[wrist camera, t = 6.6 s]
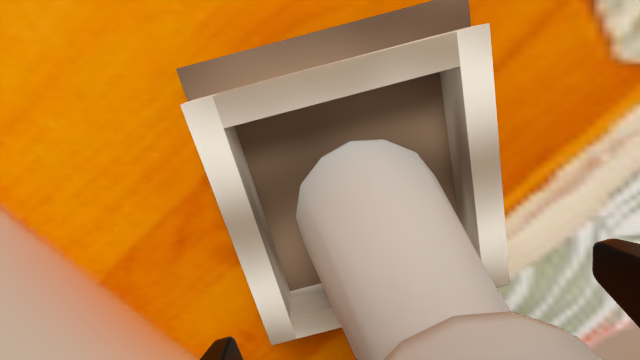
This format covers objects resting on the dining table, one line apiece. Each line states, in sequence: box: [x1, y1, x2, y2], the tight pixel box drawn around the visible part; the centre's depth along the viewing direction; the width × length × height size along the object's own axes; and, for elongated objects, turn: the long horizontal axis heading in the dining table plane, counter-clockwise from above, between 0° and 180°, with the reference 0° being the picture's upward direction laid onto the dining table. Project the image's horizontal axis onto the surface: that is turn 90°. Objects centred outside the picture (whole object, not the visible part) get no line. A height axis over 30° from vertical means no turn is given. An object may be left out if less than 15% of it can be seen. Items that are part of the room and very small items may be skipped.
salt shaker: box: [296, 139, 603, 360], centre depth 10 cm, size 6×6×13 cm
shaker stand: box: [176, 0, 510, 345], centre depth 16 cm, size 14×12×3 cm
